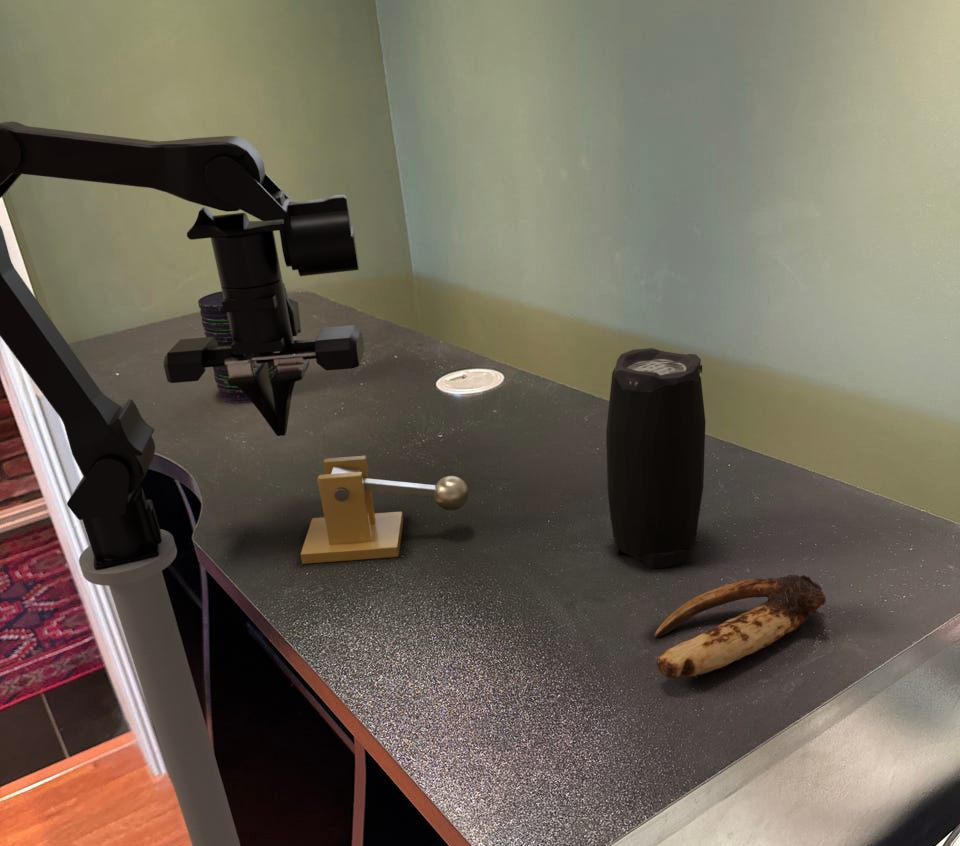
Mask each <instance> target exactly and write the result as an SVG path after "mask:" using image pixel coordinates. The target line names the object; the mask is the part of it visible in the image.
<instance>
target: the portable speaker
mask: <svg viewBox="0 0 960 846" xmlns="http://www.w3.org/2000/svg"><path fill="white" fill-rule="evenodd" d="M701 360H702V359H701V357H699V356H698V355H697V354H696V353H694V354H693V353H687V354H684V353H677V352H670V351H665V350H659V349H656V348H654V347H649V348H647V347H646V348H637V349H636V348H635V349H631V350H628V351H626V352H624V353H621V354H620V356H619V357H618V358H617V359H616V363H615V366H614V368H613V371H612V372H611V374H612V375H611V380H610V381H611V382H610V391H609V400H608V411H607V420H606V421H607V422H606V428H605V429H606V430H605V432H606V433H605V435H606V439H605V440H606V441H605V442H606V477H607V478H606V480H607V483H606V484H607V498H608V505H609V513H610V521H611V529H612V537H613V539H614V549H615V552H616V554H617V555H619V554H623V553H624V554H626V555H629V556H631V557H633V558H635V559H637V560H639V561H641V562H642V563H643V564H645V566H647V567H648V568H649V569H652V570H653V569H664V568H670V567H674V566H676V565H679V564H682V563H684V562H685V560H686V558H687V556H688V554H689V552H690V551H691V550H692V548H693V546H694V545H695V544H696V539H697V534H698V533H697V532H698V526H699V518H700V514H701V511H702V509H701V505H702V498H703V491H704V481H705V480H704V478H705V475H704V474H705V472H704V471H705V452H706V451H705V447H706V446H705V445H706V416H705V415H706V413H705V403H704V395H703V394H704V393H703V385H702V377H701V376H700V375H701V374H702V373H703V364H701Z"/></svg>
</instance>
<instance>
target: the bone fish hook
mask: <svg viewBox="0 0 960 846" xmlns="http://www.w3.org/2000/svg"><path fill="white" fill-rule="evenodd" d="M751 598H767V600H766V601H765V602H763V603H761V604H759V605H758V606H757V607H754V608H752V609H751V610H749V611H745V612H743V613H741V614H739V615H737V616H735V617H732V618H729V619H727V620H725V621H724V622H722V623H721V624H719V625H717V626H715V627H713V628H711V629H709V630H707V631H705V632H703V633H700V634H699V635H697V636H695V637H693V638H691V639H689V640H685V641H682V642H679V643H678V644H676V645H675V646H673V647H671V648H669V649H666V650H665V652H663V653H661V654H660V655H658V656H657V658H656V665H657V669H658V672H660V673H661V674H662V675H663V676H664V677H666V678H669V679H676V678H679V677H680V676H681V675H682V676H684V677H686V678H689V677H696V676H699V675H700V676H701V675H703V674H707V673H710V672H713V671H715V670H718V669H722V668H724V667H727V666H729V665H730V664H732V663H733V662H735V661H739V660H741V659H743V658H744V657H747V656H749V655H751V654H754V653H756V652H757V651H759V650H762V649H763V648H767V647H769V646H770V645H771V644H773V643H775V642H776V641H777V640H780V639H781V638H783V637H784V636H785V635H787V634H789V633H792V632H794V631H795V630H797V629H798V628H799V627H800V626H801V625H802V624H804V623H805V622H806V620H807V618H809V617H812V616H813V615H814V614H816V613H817V611H818V609H820V608H821V606H823V605H825V604H826V602H827V601H826V600H827V599H826V595H825V593H824V592H823V590H822V587H821V585H819V584H818V583H817V582H815V581H813V580H812V578H811V577H810V576H806V575H805V574H803V575H800V576H799V575H797V574H788V575H785V576H781V577H776V578H775V577H768V578H752V579H751V578H750V579H745V580H738V581H736V582H732V583H728V584H724V585H722V586H720V587H717V588H714V589H711V590H709V591H706V592H704V593H702V594H700V595H698V596H696V597H694V598H692V599H690V600H688V601H687V602H685V603H684V604H683V605H681V606H679V607H678V608H677V609H676V610H674V611H673V612H672V613H671V614H669V616H668V617H666V619H665V620H664V621H663V622H662V623H661V624H660V626H659V627H658V628H657V630H656V631H655V632H654V638H660V637H662V636H664V635H666V634H668V633H669V632H671V631H672V630H674V629H676V628H678V627H679V626H680V625H682V624H683V623H685V622H686V621H688V620H690V619H691V618H693V617H694V616H696V615H698V614H700V613H702V612H705V611H708V610H710V609H713V608H716V607H720V606H722V605H725V604H729V603H733V602H736V601H740V600H745V599H751Z"/></svg>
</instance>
